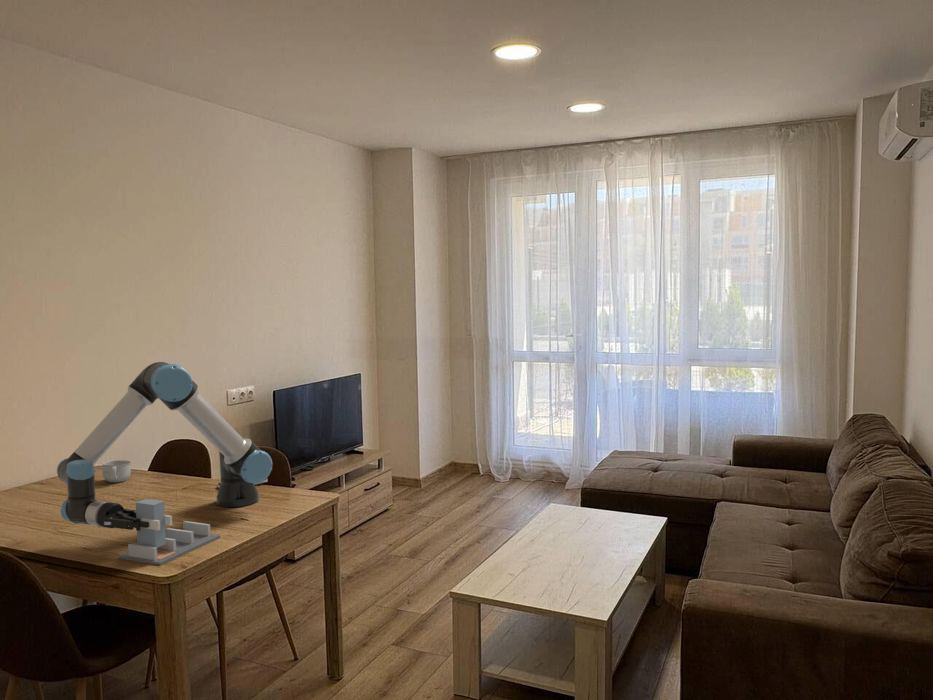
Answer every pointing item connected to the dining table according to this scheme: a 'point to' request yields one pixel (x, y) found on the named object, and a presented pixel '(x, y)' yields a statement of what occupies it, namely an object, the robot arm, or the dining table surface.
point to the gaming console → (255, 483)
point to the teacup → (116, 470)
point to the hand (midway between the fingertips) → (165, 523)
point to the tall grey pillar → (154, 512)
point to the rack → (172, 544)
